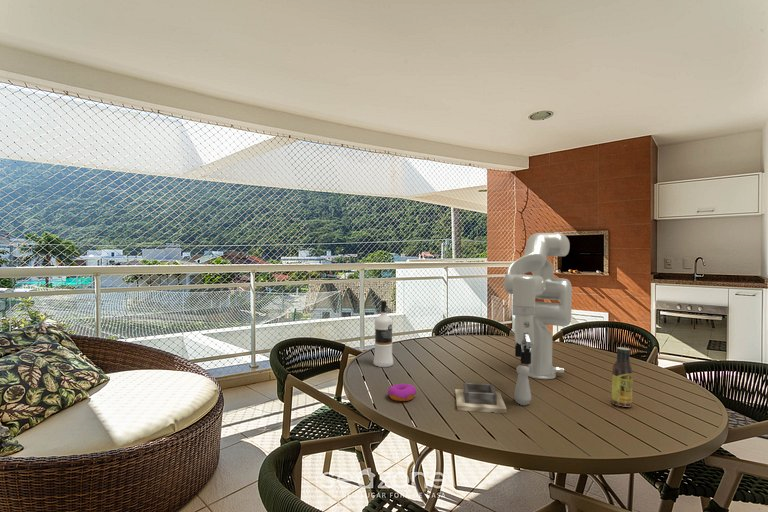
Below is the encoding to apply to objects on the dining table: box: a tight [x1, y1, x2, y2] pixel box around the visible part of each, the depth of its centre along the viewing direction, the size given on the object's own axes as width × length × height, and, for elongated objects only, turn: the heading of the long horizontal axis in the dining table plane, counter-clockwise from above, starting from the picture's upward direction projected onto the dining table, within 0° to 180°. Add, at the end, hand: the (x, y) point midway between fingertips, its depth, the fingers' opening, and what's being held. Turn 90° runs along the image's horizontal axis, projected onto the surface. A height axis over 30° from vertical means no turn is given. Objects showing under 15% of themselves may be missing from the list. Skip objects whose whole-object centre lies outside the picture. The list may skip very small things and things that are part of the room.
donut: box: [387, 383, 417, 402], centre depth 140 cm, size 10×10×5 cm
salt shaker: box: [513, 365, 532, 406], centre depth 136 cm, size 6×6×13 cm
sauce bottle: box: [610, 346, 634, 406], centre depth 135 cm, size 6×6×20 cm
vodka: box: [372, 300, 394, 368], centre depth 180 cm, size 9×9×30 cm
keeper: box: [454, 382, 508, 414], centre depth 136 cm, size 16×16×5 cm
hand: (522, 360), depth 135 cm, fingers open, 9 cm apart
